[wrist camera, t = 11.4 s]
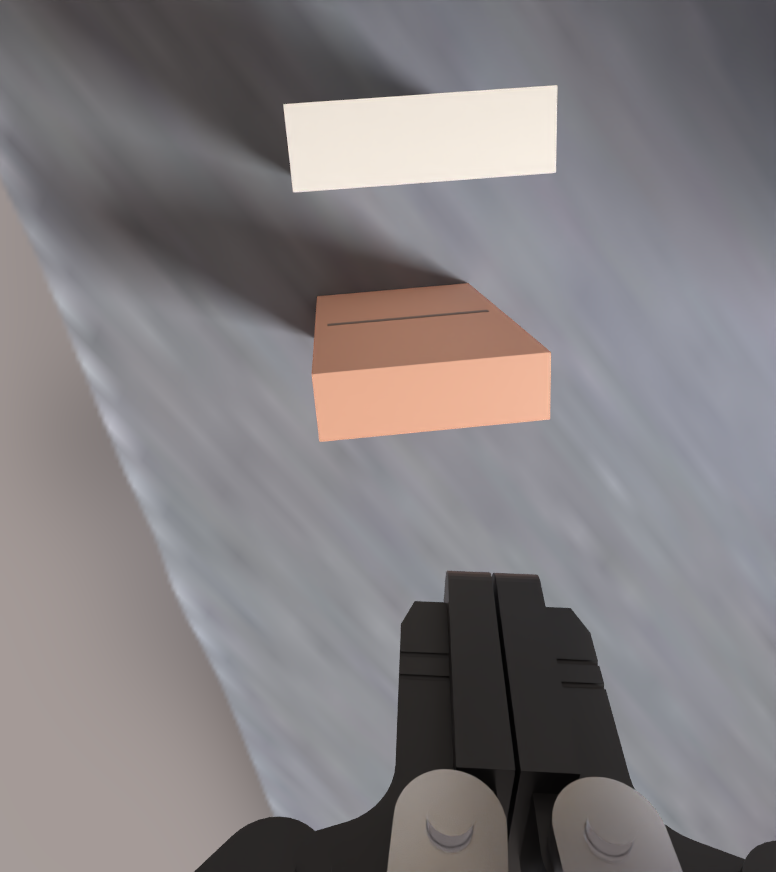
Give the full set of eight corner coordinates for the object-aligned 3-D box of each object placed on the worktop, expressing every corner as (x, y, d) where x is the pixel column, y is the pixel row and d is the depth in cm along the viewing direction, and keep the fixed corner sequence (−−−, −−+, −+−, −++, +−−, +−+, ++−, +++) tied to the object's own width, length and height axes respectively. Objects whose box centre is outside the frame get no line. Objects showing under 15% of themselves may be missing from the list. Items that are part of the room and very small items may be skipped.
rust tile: (317, 295, 27) (311, 373, 17) (468, 282, 28) (550, 351, 18) (322, 341, 28) (319, 442, 18) (469, 328, 28) (549, 420, 18)
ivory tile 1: (300, 128, 25) (283, 103, 15) (464, 116, 26) (557, 83, 15) (306, 182, 26) (293, 193, 16) (466, 170, 26) (555, 173, 16)
